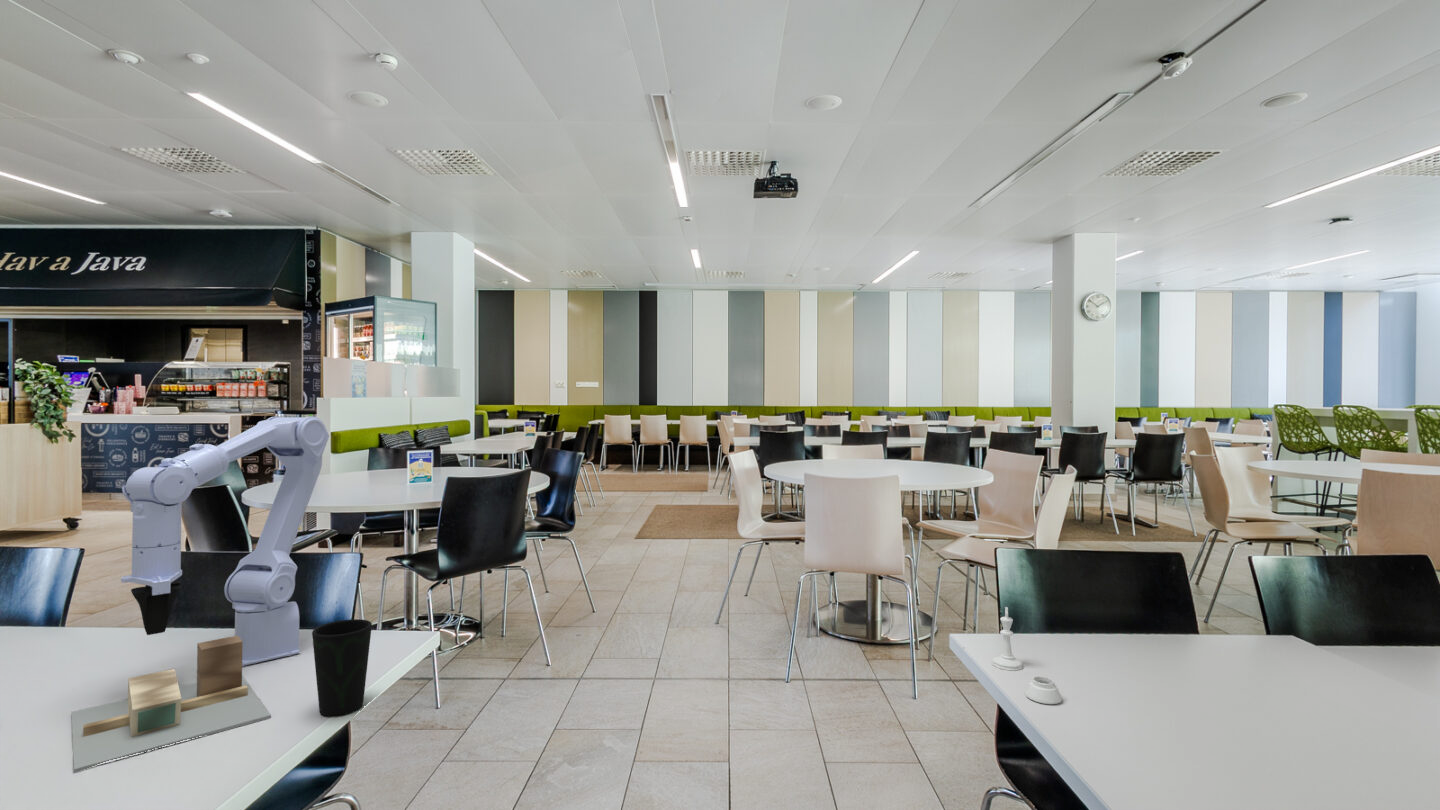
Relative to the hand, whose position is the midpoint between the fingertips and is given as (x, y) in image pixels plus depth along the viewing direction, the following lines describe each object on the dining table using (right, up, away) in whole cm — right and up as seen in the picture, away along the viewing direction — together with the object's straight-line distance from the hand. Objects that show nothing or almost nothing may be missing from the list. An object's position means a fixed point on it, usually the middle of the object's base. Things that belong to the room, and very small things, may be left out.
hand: (155, 632), depth 99 cm
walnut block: (+10, -10, 0) cm, 14 cm away
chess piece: (+137, -10, +13) cm, 138 cm away
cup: (+31, -10, -4) cm, 33 cm away
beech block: (+5, -5, -6) cm, 10 cm away
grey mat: (+8, -10, -6) cm, 14 cm away
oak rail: (+8, -10, -6) cm, 14 cm away
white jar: (+137, -10, -1) cm, 137 cm away
